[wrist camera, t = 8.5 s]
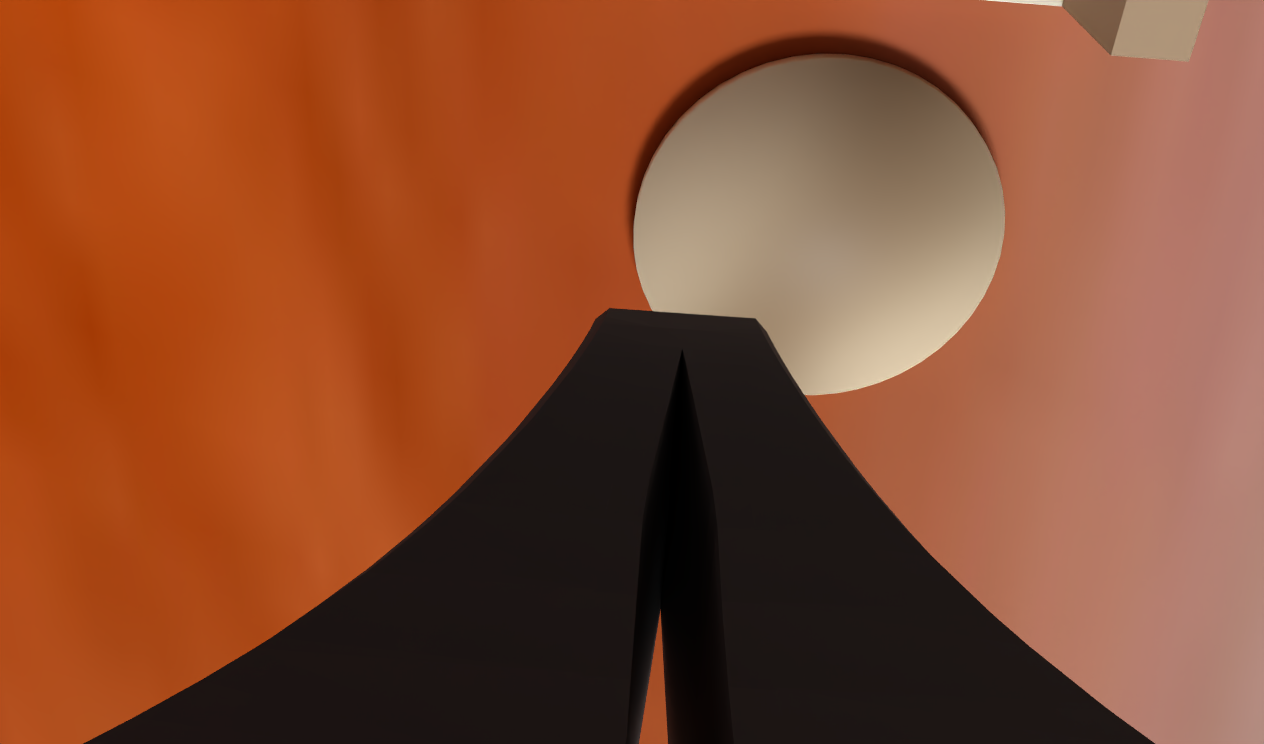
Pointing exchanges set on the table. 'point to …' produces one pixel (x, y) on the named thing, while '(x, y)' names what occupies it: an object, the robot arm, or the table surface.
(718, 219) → the coaster
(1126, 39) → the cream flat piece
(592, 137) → the table surface
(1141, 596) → the table surface
